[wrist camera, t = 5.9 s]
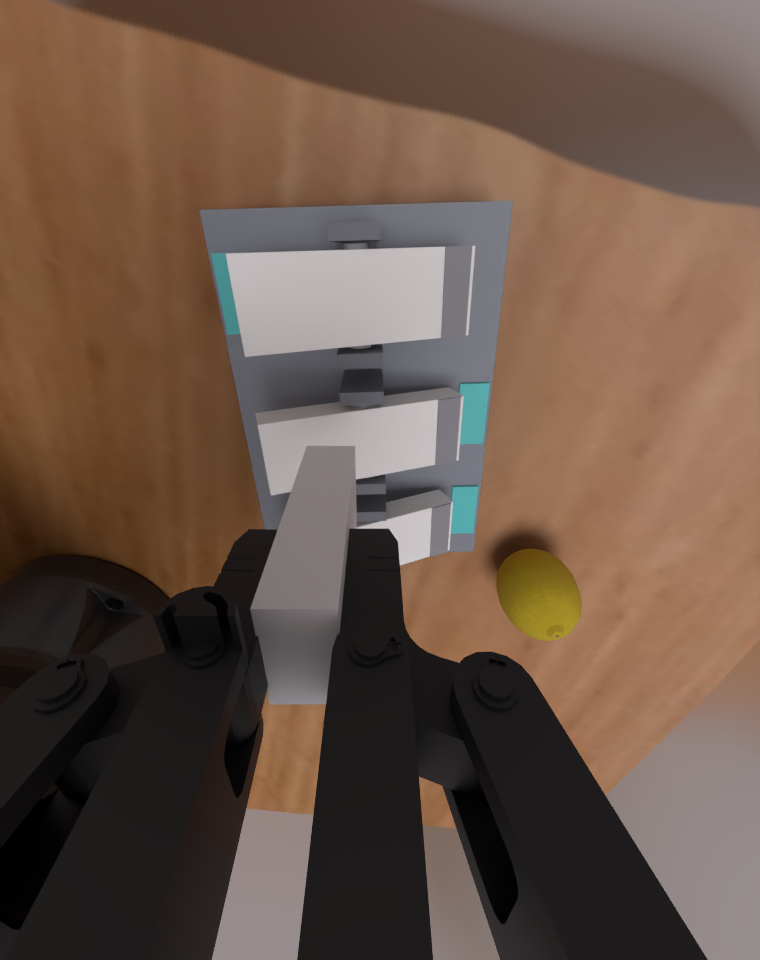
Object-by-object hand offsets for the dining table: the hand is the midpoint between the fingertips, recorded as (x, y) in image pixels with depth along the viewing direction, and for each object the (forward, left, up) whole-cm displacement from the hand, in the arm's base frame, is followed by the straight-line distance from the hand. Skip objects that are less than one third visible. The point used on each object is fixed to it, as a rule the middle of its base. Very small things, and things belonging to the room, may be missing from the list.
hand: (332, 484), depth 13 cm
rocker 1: (+1, +5, -8) cm, 9 cm away
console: (+1, -2, -15) cm, 15 cm away
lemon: (+13, -16, -15) cm, 25 cm away
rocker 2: (+1, -2, -8) cm, 8 cm away
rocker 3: (+1, -8, -8) cm, 11 cm away
